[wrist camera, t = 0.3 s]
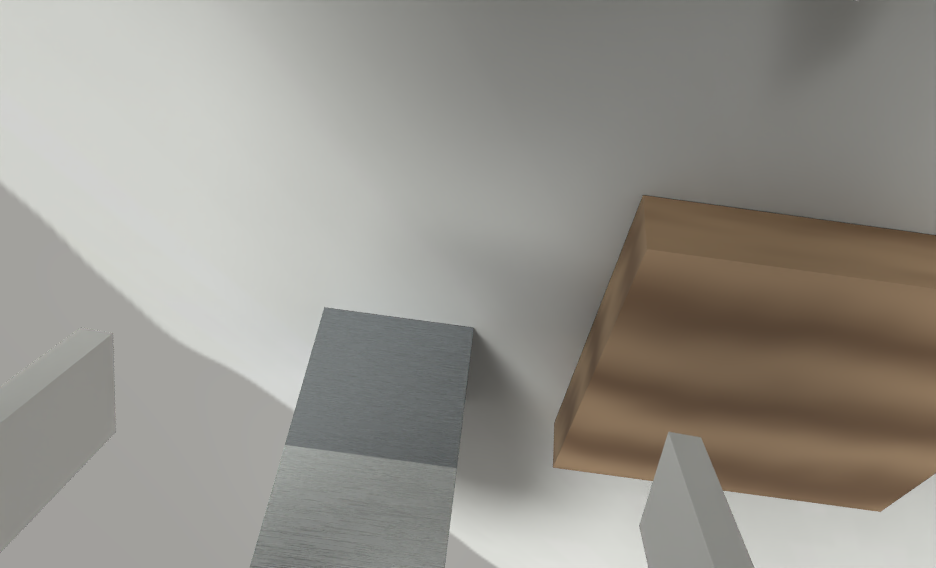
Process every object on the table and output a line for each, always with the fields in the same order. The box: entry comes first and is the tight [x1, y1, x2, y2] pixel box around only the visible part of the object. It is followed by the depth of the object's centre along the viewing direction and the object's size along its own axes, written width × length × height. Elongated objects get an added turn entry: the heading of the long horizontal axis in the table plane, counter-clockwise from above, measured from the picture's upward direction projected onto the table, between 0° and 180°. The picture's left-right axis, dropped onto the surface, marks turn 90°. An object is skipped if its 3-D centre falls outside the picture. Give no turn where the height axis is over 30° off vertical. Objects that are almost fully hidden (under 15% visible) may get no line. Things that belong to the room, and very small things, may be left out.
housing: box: [250, 307, 474, 568], centre depth 36 cm, size 8×8×16 cm
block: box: [553, 195, 936, 512], centre depth 36 cm, size 20×20×3 cm
